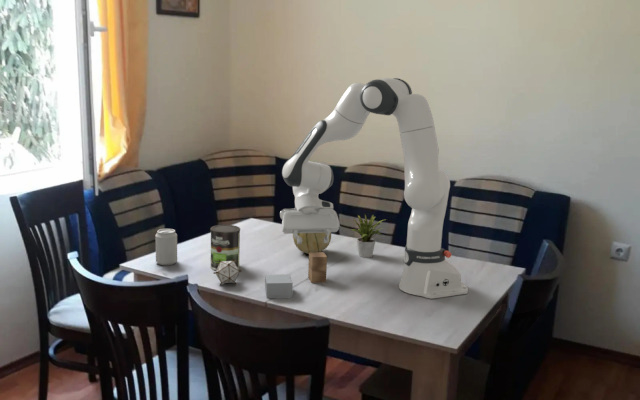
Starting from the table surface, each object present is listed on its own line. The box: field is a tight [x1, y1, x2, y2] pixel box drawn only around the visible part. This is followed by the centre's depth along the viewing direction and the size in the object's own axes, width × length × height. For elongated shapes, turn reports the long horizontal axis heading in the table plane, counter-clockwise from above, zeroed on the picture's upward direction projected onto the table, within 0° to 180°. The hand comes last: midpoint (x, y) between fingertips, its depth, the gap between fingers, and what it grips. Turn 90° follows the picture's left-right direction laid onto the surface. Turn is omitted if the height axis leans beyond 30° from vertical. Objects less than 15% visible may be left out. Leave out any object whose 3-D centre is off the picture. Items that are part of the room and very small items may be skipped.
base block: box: [264, 273, 294, 299], centre depth 202 cm, size 8×8×5 cm
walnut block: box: [307, 251, 328, 284], centre depth 215 cm, size 5×5×9 cm
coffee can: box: [209, 224, 241, 271], centre depth 224 cm, size 10×10×14 cm
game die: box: [213, 258, 242, 286], centre depth 208 cm, size 9×8×10 cm
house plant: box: [351, 214, 388, 258], centre depth 242 cm, size 14×14×16 cm
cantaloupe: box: [292, 232, 332, 255], centre depth 243 cm, size 15×15×15 cm
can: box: [155, 228, 178, 266], centre depth 226 cm, size 8×8×12 cm
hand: (313, 242), depth 220 cm, fingers open, 8 cm apart
